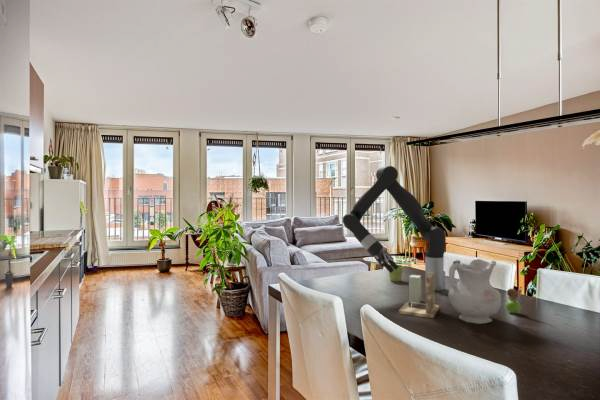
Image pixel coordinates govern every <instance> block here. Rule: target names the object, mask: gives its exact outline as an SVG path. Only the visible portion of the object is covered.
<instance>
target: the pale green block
mask: <svg viewBox="0 0 600 400" xmlns="http://www.w3.org/2000/svg"><path fill="white" fill-rule="evenodd" d="M408 290H409V291H408V301H411V302H419V303H422V275H420V274H419V275H418V274H411V275H409V276H408Z"/></svg>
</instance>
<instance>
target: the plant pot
mask: <svg viewBox="0 0 600 400" xmlns="http://www.w3.org/2000/svg"><path fill="white" fill-rule="evenodd" d="M389 265H390V264H389ZM390 266H391V265H390ZM397 266H398V268H397V269H396V270H395V269H394V268H393V267H392V266H391V267H392V268H393V269H394V271H393V272H391V273H390V272H389V271H388V273H389V279H390V281H391V282H401V281H402V276H403V270H404V267H405V266H404V265H402V264H397Z"/></svg>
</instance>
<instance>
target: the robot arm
mask: <svg viewBox="0 0 600 400" xmlns="http://www.w3.org/2000/svg"><path fill="white" fill-rule="evenodd" d="M375 176H376V179H377V180H376V181H375V182H374V184H373V185H371V187H370V188H369V189H368V190H366V191H365V192H364V193H363V194H362V196H360V198H359V199H358V200H357V201H356V202H355V203H354V205H353V207H352V209H351V211H350V213H345V215H344V216H343V217H342V223H343V226H344V227H345V229H348V230H349V231H350V232H351V233H352V234H353V236H354V238H355V239H356V240H357V241H358V242H359V243H360V244H361V246H362V247H363V248H364V249H365V251H367V253H368V254H370V256H371V257H374V259H375V261H376V262H377V263H378V264H379V265H380V266H381V267H383V268H385V269H386V270H387V271H388V273H389V272H390V273H391V272H393V271H394V269H395V270H396V269H397V268H398V266H397V265H398V263H397V264H396V262H395V261H394V257H392V256H391V254H390V253H388V251H387V250H385V251H384V250H383V249H384V245H383V244H381V242H380V241H379V240H378V239H377V238H376V237H375V236H374V235H373V234H371V232H370V231H369V230H368V229H367V228H366V227H365V226H364V225H363V224H362V222H361V220H362V218H363V216H364V215H366V213H367V212H368V210H369V209H370V208H371V206H372V205H373V204H374V203H376V200H377V199H378V198H379V197H380V196H381V195H382V194H383V192H384V191H388V193H389V194H390V195H391V197H392V199H394V201H395V202H396V204H397V205H398V206H399V208H400V209H401V210H402V211H403V214H405V215H406V216H407V217H408V219H409V220H410V221H411V222H412V223H413V225H414V226H415V227H416V229H417V230H418V232H419V234H420V236H421V237H422V238H423V240H424V241H425V242H426V243H428V249H427V250H425V252H424V253H425V255H424V256H425V257H424V258H425V263H424V265H425V268H424V269H425V272H424V273H425V281H424V282H425V286H424V287H426V277H427V276H428V275H429V274H430V273H431V272H433V273H435V291H443V290H446V271H445V270H444V265H445V264H444V263H445V262H444V257H445V256H444V255H445V252H446V242H447V241H446V232H445V231H444V229H443V228H441V227H438V226H434V225H433V224H432V223H430V221H429V220H428V219H427V218H426V216H425V213H424V209H423V207H422V205H421V203H420V202H419V200H418V199H417V198H416V197H415V195H414V194H412V193H411V192H410V191H409V190H407V189H406V188H405V187H403V185H401V183H400V182H399V181H398V176H399V172H398V170H397V168H396V167H395V166H392V165H385V166H381V167H379V168H378V169H377V170H376V172H375ZM390 265H391V266H392V267H393V268H394V269H393V268H392V267H391V266H390Z"/></svg>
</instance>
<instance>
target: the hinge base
mask: <svg viewBox="0 0 600 400" xmlns="http://www.w3.org/2000/svg"><path fill="white" fill-rule="evenodd" d="M435 292H436V290H435V273H433V272H431V273H430V274H429V275H428V276H427V277H426V286H425V303H424V302H420V303H419V302H411V301H409V300H407V301H406V302H405V303H404V304H403V305H402V306H401V307H400V309H399V310H398V314H399V315H409V316H415V317H421V318H430V319H434V318H435V316H436V315H437V313H438V311H439V309H440V304H436V303H435V302H436V298H435V297H436V294H435Z"/></svg>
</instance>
